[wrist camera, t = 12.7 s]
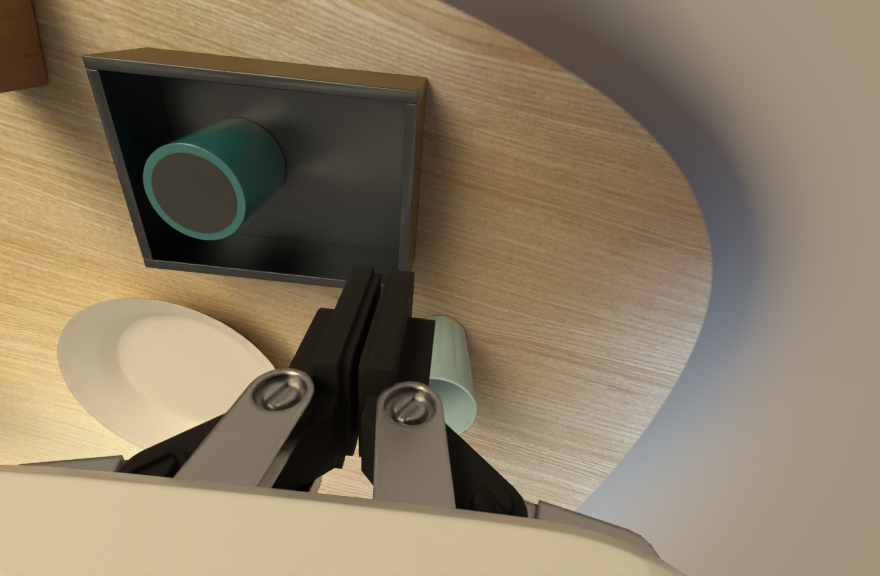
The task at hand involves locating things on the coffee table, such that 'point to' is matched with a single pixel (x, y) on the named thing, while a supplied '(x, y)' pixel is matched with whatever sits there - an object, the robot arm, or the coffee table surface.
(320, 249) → the dark grey shallow box
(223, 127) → the pot
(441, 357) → the cup
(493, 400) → the coffee table surface
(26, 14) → the wooden block
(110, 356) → the white plate
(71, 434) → the coffee table surface
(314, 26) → the coffee table surface
